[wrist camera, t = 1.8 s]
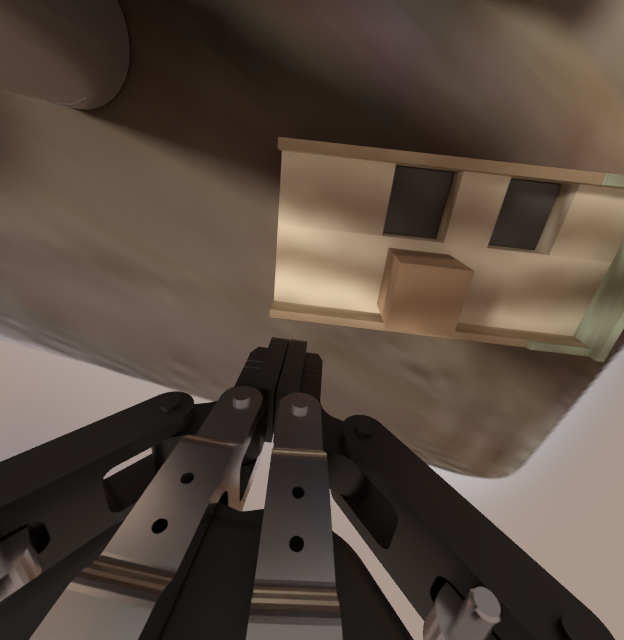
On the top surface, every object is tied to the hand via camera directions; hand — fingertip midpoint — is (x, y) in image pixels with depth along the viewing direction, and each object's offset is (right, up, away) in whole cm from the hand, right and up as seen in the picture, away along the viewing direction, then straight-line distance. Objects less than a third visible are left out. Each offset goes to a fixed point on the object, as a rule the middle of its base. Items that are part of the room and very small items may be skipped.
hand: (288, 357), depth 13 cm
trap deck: (+12, +8, +14) cm, 20 cm away
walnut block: (+10, +5, +13) cm, 17 cm away
